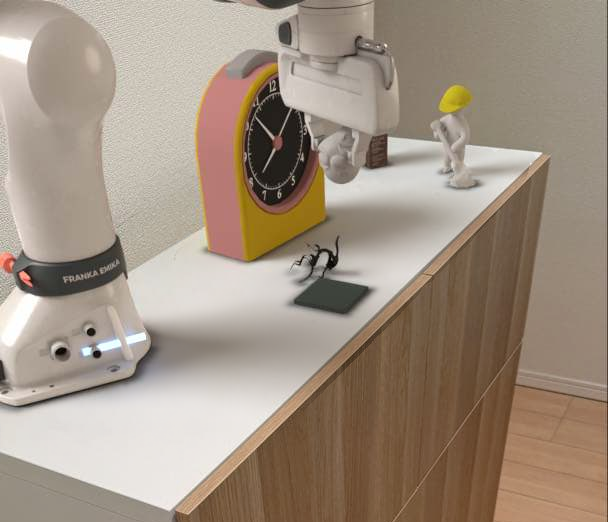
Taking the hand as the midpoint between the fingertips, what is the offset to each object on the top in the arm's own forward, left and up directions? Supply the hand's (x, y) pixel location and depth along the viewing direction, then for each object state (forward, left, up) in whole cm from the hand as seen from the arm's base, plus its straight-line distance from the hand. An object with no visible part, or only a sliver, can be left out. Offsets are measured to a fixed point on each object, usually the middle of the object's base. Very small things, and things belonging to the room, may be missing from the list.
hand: (337, 157), depth 100 cm
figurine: (+44, +24, -18) cm, 54 cm away
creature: (+1, +7, -18) cm, 20 cm away
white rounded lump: (+1, 0, -4) cm, 4 cm away
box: (+39, +41, -18) cm, 60 cm away
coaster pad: (-2, -1, -18) cm, 18 cm away
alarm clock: (+4, +25, -18) cm, 31 cm away
